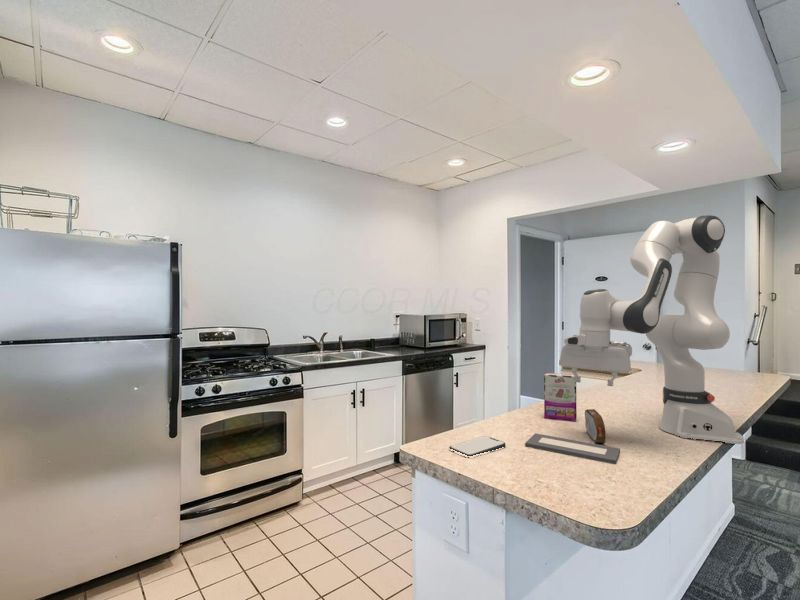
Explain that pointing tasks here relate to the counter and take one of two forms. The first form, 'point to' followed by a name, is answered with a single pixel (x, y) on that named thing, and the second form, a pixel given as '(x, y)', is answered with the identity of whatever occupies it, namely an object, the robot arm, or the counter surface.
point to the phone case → (478, 446)
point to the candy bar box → (560, 397)
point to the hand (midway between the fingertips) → (593, 383)
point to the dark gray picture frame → (574, 448)
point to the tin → (595, 426)
